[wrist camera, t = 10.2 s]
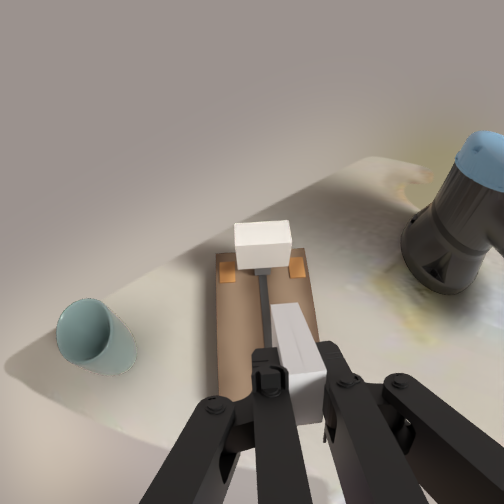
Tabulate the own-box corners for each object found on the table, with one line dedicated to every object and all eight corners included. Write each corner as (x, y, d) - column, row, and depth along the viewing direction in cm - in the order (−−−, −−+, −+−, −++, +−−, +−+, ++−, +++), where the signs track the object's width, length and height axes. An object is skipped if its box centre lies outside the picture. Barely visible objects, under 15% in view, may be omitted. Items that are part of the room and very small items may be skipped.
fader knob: (284, 256, 40) (288, 220, 34) (286, 276, 38) (292, 242, 32) (238, 259, 40) (234, 223, 34) (239, 280, 38) (234, 246, 32)
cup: (90, 336, 38) (52, 308, 29) (136, 320, 39) (106, 288, 31) (101, 387, 34) (60, 371, 25) (151, 372, 35) (119, 353, 27)
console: (301, 259, 44) (304, 247, 41) (321, 399, 33) (327, 397, 30) (218, 264, 44) (215, 252, 41) (222, 408, 33) (219, 406, 30)
